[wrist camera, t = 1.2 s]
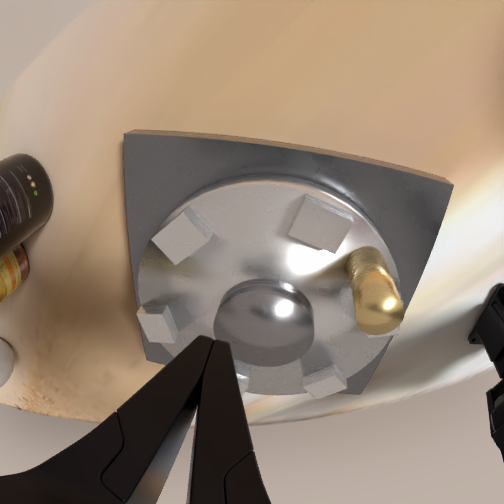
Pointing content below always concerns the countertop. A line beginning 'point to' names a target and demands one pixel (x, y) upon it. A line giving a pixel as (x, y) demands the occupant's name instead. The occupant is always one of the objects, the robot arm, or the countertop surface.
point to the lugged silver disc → (273, 283)
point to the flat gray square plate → (289, 164)
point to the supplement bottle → (22, 200)
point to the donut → (5, 362)
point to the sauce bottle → (12, 271)
